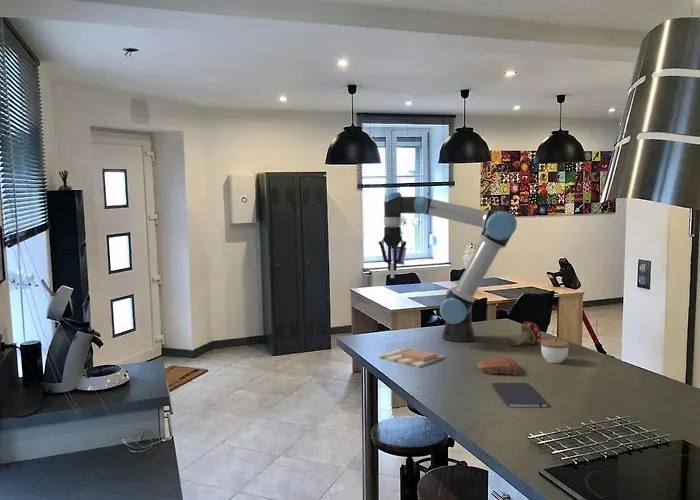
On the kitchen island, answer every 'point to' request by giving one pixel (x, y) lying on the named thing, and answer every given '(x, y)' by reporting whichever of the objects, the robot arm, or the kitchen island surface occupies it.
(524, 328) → the decorative mushroom
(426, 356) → the tile
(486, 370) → the ceramic shard
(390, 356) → the board
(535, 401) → the notebook
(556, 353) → the lidded jar
